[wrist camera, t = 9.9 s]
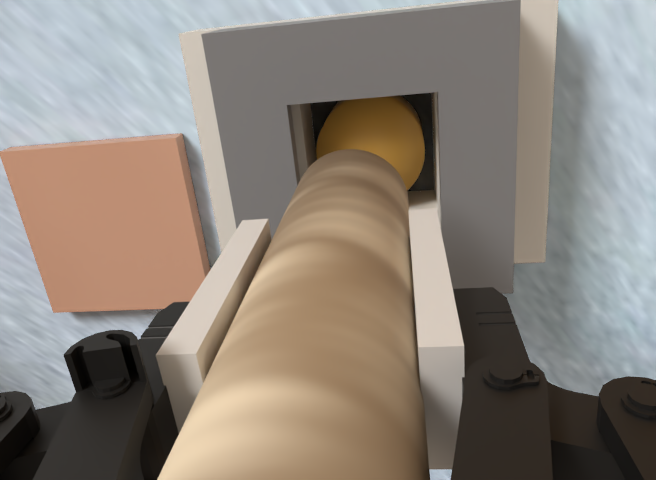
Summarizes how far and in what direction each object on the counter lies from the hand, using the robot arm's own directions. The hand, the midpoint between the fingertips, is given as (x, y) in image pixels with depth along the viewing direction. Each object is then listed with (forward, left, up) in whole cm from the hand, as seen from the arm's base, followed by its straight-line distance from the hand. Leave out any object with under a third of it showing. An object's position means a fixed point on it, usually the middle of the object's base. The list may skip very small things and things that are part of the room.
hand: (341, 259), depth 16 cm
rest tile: (-15, -4, -14) cm, 21 cm away
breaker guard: (0, 0, -14) cm, 14 cm away
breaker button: (0, 0, -14) cm, 14 cm away
